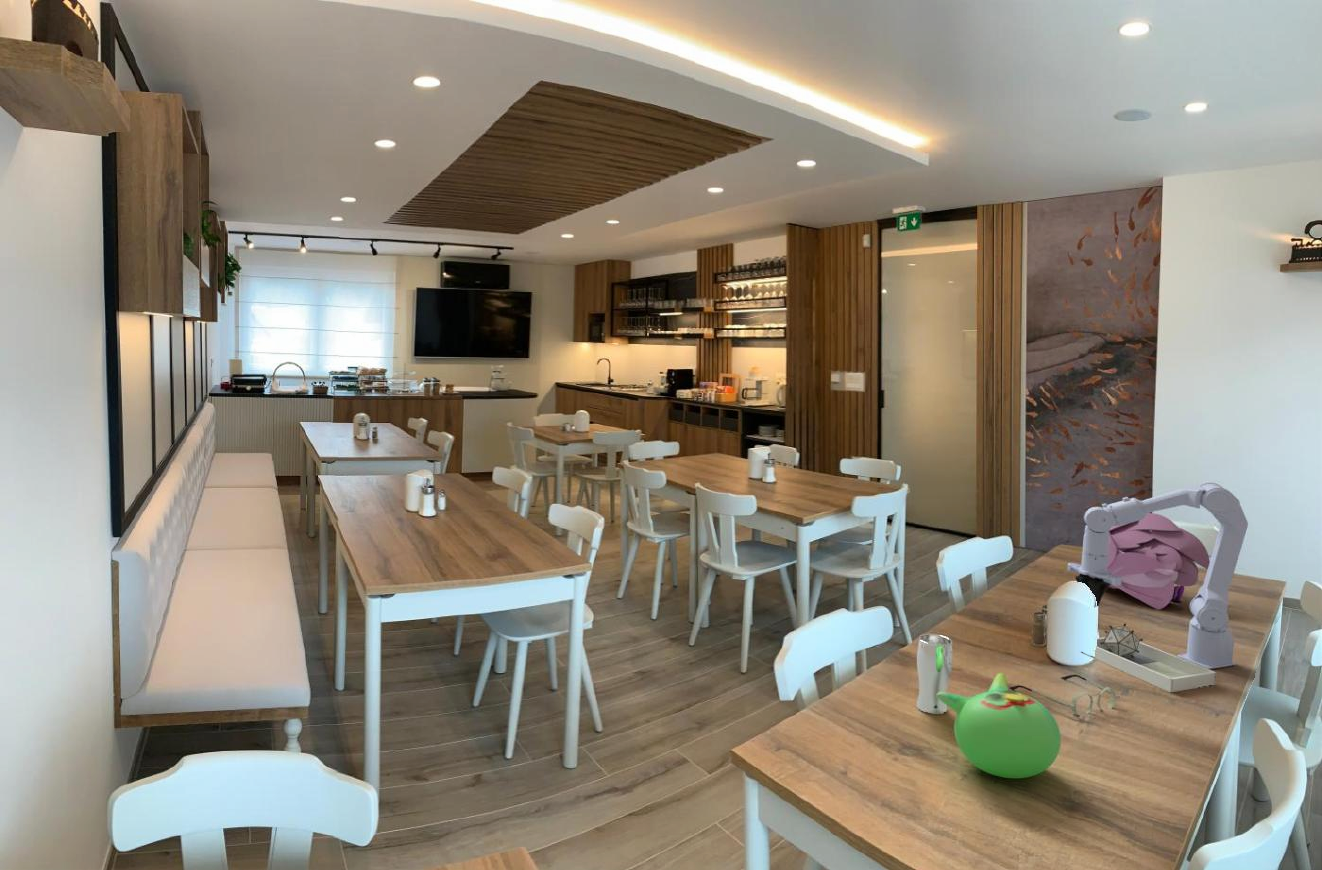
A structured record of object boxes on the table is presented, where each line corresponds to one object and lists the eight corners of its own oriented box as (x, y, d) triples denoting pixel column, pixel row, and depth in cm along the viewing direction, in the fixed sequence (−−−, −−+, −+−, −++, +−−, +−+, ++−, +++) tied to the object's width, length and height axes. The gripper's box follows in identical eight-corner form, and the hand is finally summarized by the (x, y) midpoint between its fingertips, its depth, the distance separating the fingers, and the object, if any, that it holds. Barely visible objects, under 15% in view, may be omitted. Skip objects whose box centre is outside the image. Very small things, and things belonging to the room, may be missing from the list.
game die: (1128, 673, 184) (1153, 652, 177) (1093, 659, 185) (1118, 636, 179) (1124, 645, 191) (1149, 624, 184) (1091, 631, 192) (1114, 609, 185)
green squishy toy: (1003, 805, 122) (1008, 720, 121) (928, 755, 137) (932, 678, 136) (1078, 782, 129) (1085, 701, 128) (999, 736, 145) (1004, 664, 143)
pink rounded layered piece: (1204, 618, 230) (1227, 530, 229) (1190, 621, 213) (1215, 526, 212) (1082, 581, 255) (1102, 502, 254) (1061, 582, 238) (1082, 496, 237)
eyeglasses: (1065, 720, 152) (1067, 697, 152) (1006, 689, 166) (1008, 668, 166) (1123, 708, 159) (1125, 685, 158) (1062, 679, 173) (1063, 658, 172)
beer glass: (948, 703, 158) (952, 636, 157) (949, 718, 152) (954, 647, 150) (914, 698, 160) (917, 631, 159) (913, 712, 154) (917, 643, 152)
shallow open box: (1121, 646, 193) (1122, 634, 192) (1215, 685, 170) (1216, 672, 170) (1079, 651, 188) (1080, 640, 188) (1170, 692, 166) (1171, 679, 165)
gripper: (1060, 547, 197) (1056, 597, 199) (1108, 562, 183) (1103, 615, 185) (1080, 546, 199) (1076, 595, 201) (1129, 560, 186) (1125, 612, 187)
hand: (1091, 604), depth 193 cm, fingers closed
